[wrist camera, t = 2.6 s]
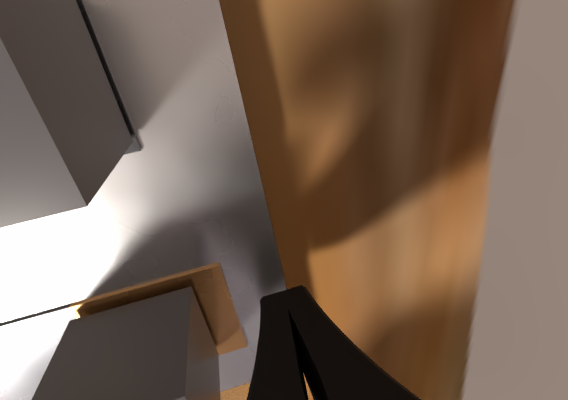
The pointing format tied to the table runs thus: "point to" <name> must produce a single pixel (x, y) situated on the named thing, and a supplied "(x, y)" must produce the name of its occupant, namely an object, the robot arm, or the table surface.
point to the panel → (151, 201)
